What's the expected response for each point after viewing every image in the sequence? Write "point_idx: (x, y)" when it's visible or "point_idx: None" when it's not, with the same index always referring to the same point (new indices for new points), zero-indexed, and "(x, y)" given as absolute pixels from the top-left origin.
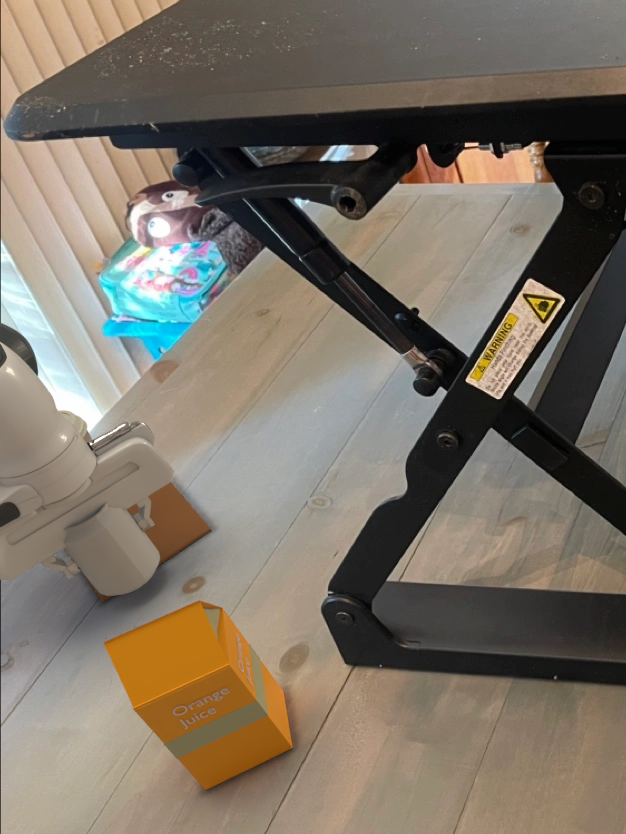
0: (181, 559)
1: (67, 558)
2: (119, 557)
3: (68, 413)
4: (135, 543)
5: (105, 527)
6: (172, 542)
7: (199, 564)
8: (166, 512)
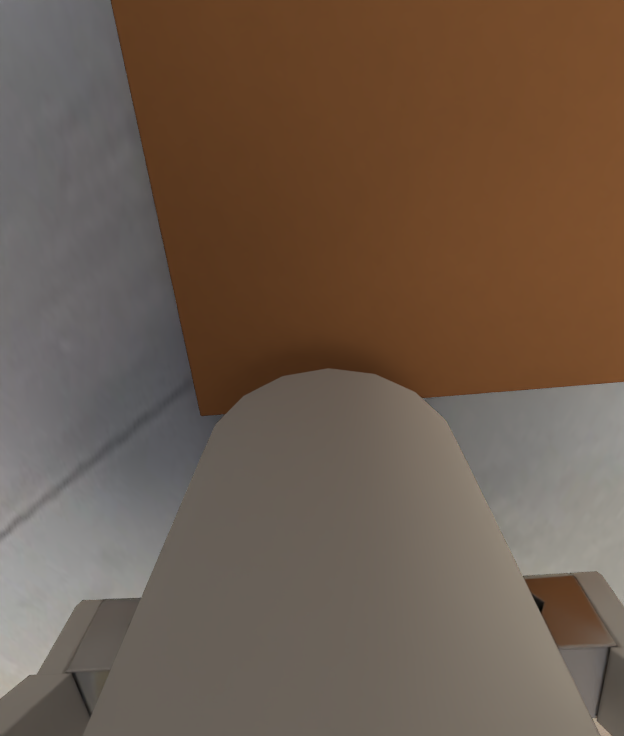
0: (486, 426)
1: (100, 683)
2: None
3: None
4: None
5: None
6: (507, 335)
7: (518, 493)
8: (584, 100)
